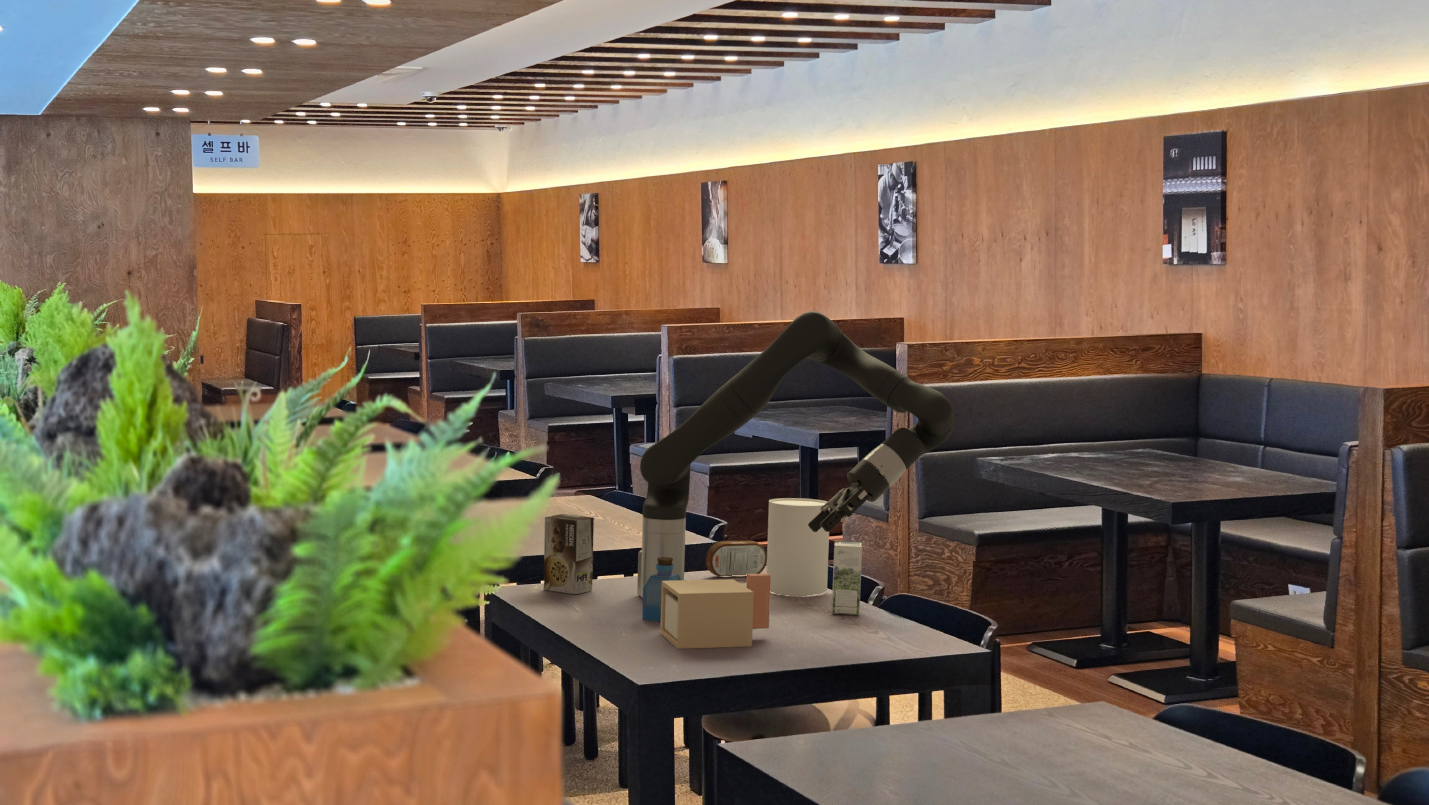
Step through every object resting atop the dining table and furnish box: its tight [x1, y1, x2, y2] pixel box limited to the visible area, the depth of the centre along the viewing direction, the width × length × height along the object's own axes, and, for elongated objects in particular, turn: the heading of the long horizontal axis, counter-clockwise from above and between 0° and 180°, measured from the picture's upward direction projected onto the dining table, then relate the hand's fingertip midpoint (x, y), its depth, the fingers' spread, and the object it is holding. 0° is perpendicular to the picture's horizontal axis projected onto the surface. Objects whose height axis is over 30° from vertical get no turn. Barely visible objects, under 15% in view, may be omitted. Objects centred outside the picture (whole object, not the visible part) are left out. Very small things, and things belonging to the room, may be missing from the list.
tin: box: [705, 540, 767, 577], centre depth 334 cm, size 15×3×8 cm, turn 114°
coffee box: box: [543, 513, 595, 595], centre depth 310 cm, size 9×6×16 cm
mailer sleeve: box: [659, 578, 754, 650], centre depth 265 cm, size 14×13×10 cm
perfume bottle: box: [641, 557, 681, 623], centre depth 283 cm, size 6×6×12 cm
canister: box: [766, 497, 831, 596], centre depth 317 cm, size 14×14×20 cm
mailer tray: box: [665, 573, 771, 639], centre depth 265 cm, size 18×11×11 cm, turn 106°
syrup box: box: [831, 541, 863, 616], centre depth 295 cm, size 6×6×14 cm
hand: (817, 528), depth 273 cm, fingers open, 8 cm apart
